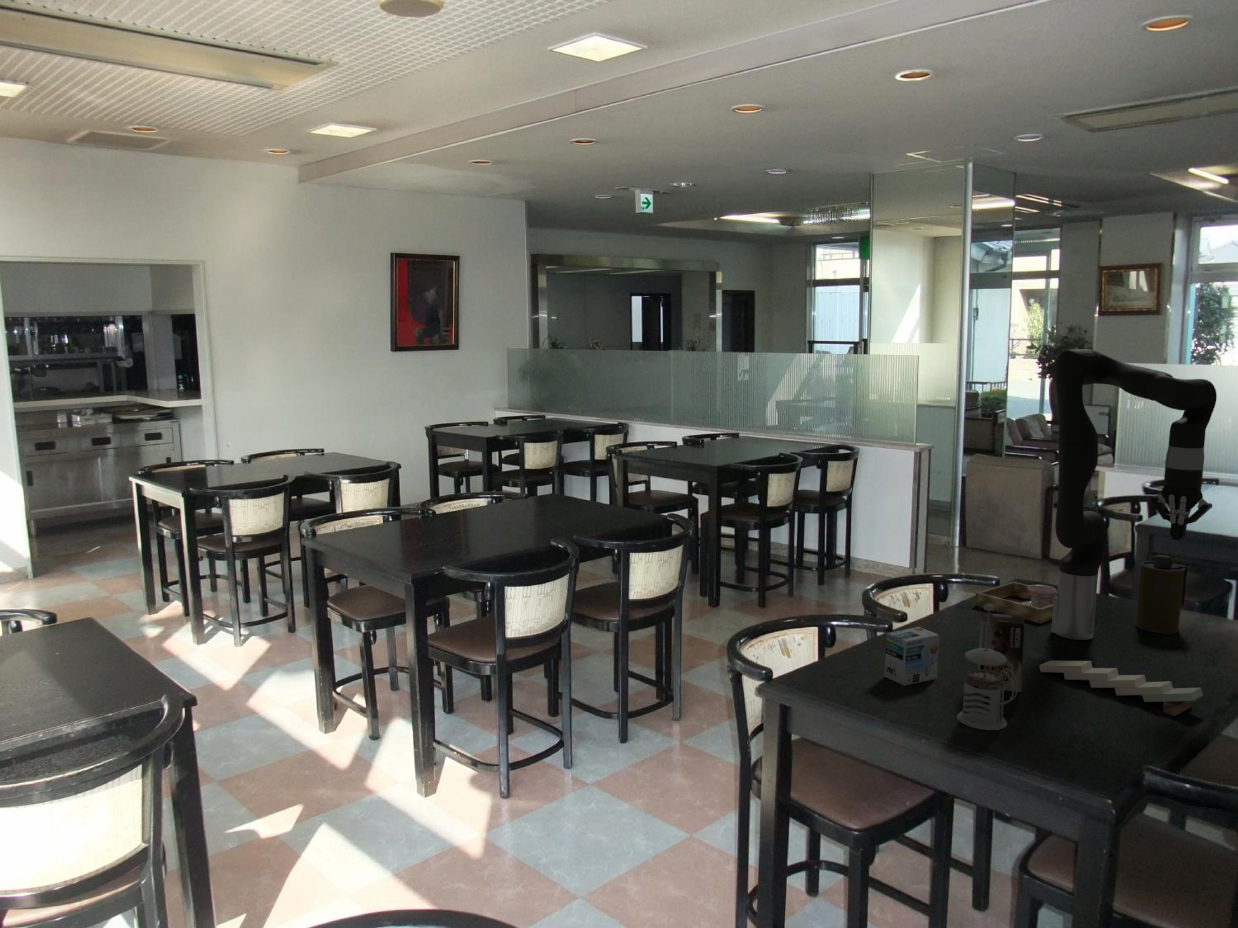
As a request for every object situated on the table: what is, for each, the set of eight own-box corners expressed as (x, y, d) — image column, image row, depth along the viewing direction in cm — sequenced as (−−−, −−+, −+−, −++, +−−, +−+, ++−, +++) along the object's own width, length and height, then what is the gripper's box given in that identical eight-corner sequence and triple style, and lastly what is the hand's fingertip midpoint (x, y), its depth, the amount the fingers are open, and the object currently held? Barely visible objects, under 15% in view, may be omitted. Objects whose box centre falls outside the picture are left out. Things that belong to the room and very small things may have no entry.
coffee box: (1019, 682, 213) (1023, 615, 211) (1021, 693, 207) (1026, 623, 205) (976, 677, 216) (980, 611, 214) (977, 687, 210) (982, 619, 208)
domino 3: (1089, 680, 211) (1134, 680, 203) (1100, 675, 214) (1144, 674, 206) (1091, 687, 211) (1136, 687, 203) (1101, 682, 214) (1146, 682, 206)
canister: (1142, 632, 248) (1148, 559, 245) (1129, 620, 258) (1136, 550, 255) (1187, 635, 246) (1194, 562, 243) (1173, 623, 256) (1179, 552, 253)
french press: (971, 706, 200) (978, 594, 196) (1024, 723, 192) (1032, 606, 188) (947, 718, 194) (954, 603, 190) (1001, 737, 185) (1009, 616, 181)
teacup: (1022, 600, 277) (1023, 580, 276) (1066, 607, 270) (1068, 586, 269) (1015, 611, 267) (1016, 590, 266) (1060, 618, 260) (1062, 597, 259)
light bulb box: (904, 686, 211) (906, 641, 209) (883, 676, 217) (885, 632, 215) (938, 678, 216) (940, 634, 214) (916, 669, 222) (919, 625, 220)
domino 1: (1039, 665, 220) (1080, 665, 212) (1050, 660, 223) (1091, 660, 215) (1040, 671, 220) (1082, 672, 212) (1051, 667, 223) (1092, 667, 215)
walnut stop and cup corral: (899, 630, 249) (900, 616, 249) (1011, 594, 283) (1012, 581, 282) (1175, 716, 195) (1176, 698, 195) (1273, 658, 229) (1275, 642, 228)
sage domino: (1142, 694, 202) (1190, 693, 194) (1152, 689, 205) (1200, 687, 197) (1144, 701, 202) (1192, 700, 194) (1154, 696, 205) (1202, 695, 197)
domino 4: (1114, 688, 206) (1160, 686, 198) (1124, 682, 209) (1171, 681, 201) (1116, 695, 206) (1162, 694, 198) (1126, 689, 209) (1173, 688, 201)
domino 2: (1063, 672, 215) (1106, 673, 208) (1074, 667, 218) (1117, 668, 210) (1064, 679, 215) (1108, 680, 207) (1075, 674, 218) (1118, 675, 210)
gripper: (1223, 468, 211) (1215, 542, 213) (1160, 461, 221) (1154, 532, 224) (1209, 471, 206) (1201, 547, 209) (1146, 464, 216) (1140, 536, 219)
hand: (1177, 539), depth 216 cm, fingers closed
